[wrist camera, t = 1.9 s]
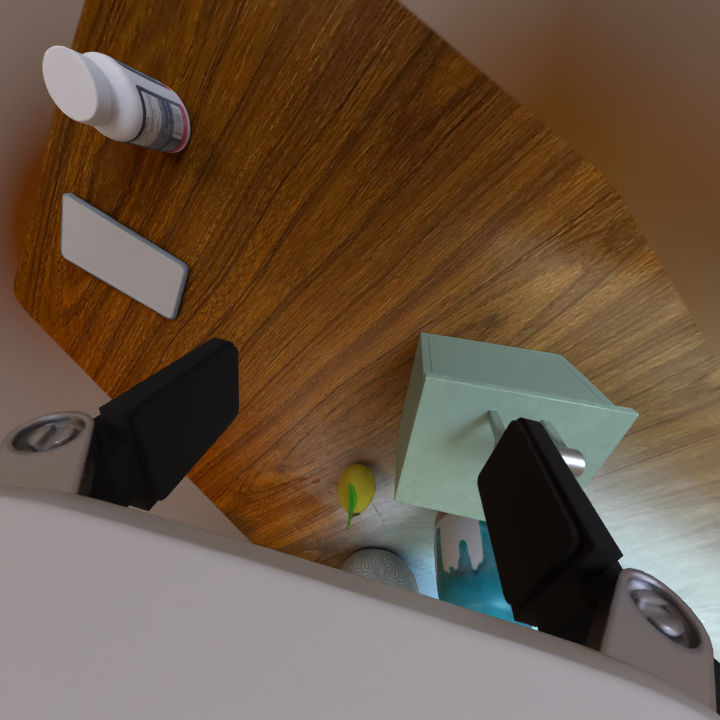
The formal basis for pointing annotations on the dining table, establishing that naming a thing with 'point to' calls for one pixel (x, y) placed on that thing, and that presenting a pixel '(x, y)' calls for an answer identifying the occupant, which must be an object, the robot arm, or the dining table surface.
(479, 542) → the vase
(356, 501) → the lemon
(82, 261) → the smartphone
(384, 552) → the planter
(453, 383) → the box lid
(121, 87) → the pill bottle
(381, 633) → the robot arm
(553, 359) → the green box
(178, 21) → the dining table surface
